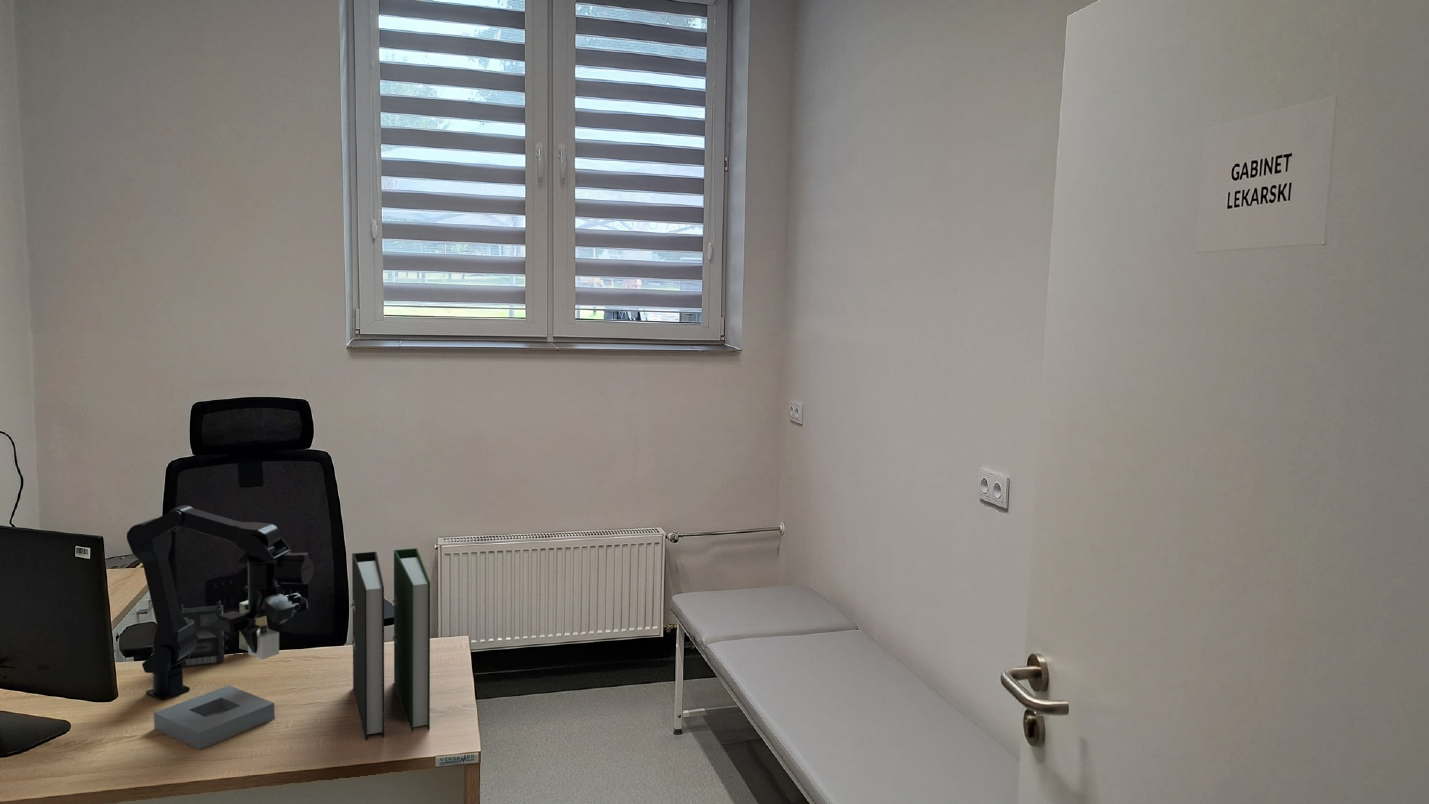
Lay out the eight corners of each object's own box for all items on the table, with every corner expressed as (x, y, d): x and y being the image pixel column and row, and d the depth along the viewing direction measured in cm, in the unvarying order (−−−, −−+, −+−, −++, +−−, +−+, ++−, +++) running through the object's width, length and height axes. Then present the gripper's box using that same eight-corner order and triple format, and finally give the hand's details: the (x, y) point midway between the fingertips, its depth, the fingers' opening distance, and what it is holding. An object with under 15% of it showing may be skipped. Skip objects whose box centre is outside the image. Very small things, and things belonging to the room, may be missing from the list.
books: (433, 729, 185) (433, 581, 182) (357, 741, 179) (356, 589, 176) (417, 679, 210) (417, 548, 206) (349, 688, 203) (349, 553, 200)
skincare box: (238, 649, 224) (237, 602, 223) (253, 643, 228) (252, 597, 227) (257, 653, 221) (256, 606, 220) (271, 647, 225) (270, 601, 224)
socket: (154, 728, 181) (153, 712, 181) (229, 700, 195) (229, 685, 195) (199, 749, 174) (199, 732, 173) (274, 718, 187) (274, 703, 187)
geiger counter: (229, 656, 219) (227, 597, 218) (227, 662, 215) (225, 603, 214) (180, 661, 215) (178, 601, 214) (177, 668, 211) (175, 607, 210)
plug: (248, 654, 196) (247, 626, 196) (265, 648, 200) (264, 621, 199) (262, 659, 194) (262, 631, 193) (279, 653, 197) (278, 625, 197)
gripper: (245, 599, 183) (246, 672, 185) (323, 577, 199) (323, 644, 201) (213, 590, 188) (214, 660, 190) (291, 569, 205) (292, 634, 206)
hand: (263, 649), depth 197 cm, fingers closed on plug, 4 cm apart
